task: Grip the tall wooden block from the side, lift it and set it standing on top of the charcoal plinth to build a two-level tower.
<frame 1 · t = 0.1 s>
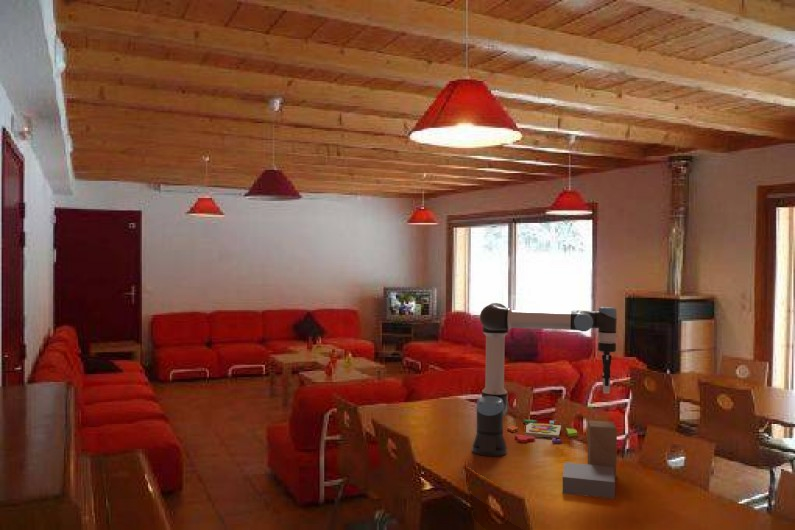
hand: (606, 390, 283), 28 cm above the table, tool pointing down, fingers open, 13 cm apart
wooden block: (601, 474, 255), on the table
pattern blocks set: (542, 434, 317), on the table
plinth: (588, 487, 240), on the table
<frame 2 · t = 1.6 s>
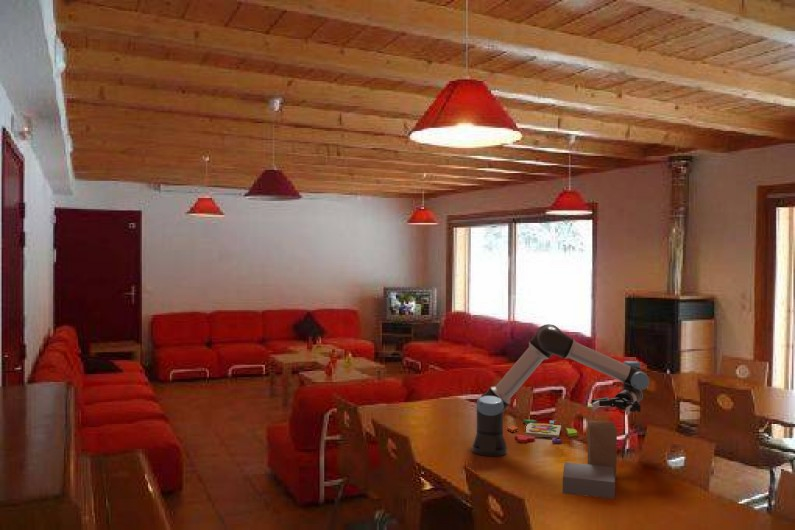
hand: (609, 409, 263), 24 cm above the table, tool horizontal, fingers open, 13 cm apart
nothing on the table moved.
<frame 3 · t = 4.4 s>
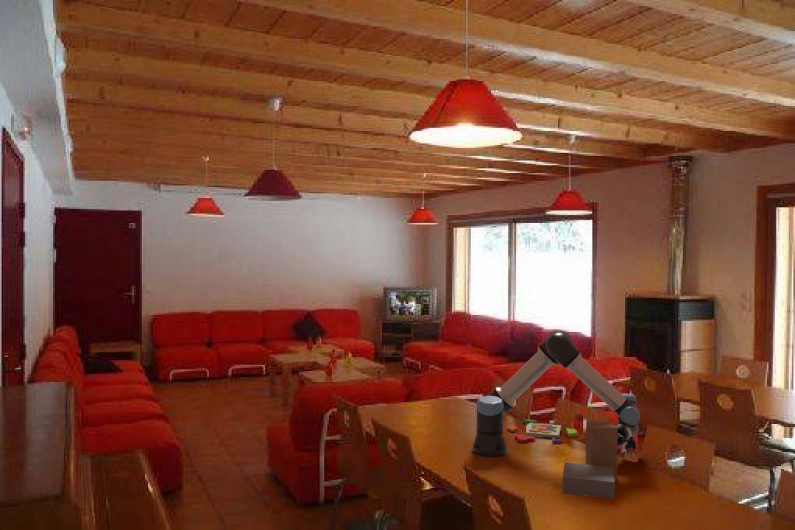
hand: (604, 446, 256), 11 cm above the table, tool horizontal, fingers open, 13 cm apart
wooden block: (601, 475, 255), on the table, touching gripper
everything else where it was.
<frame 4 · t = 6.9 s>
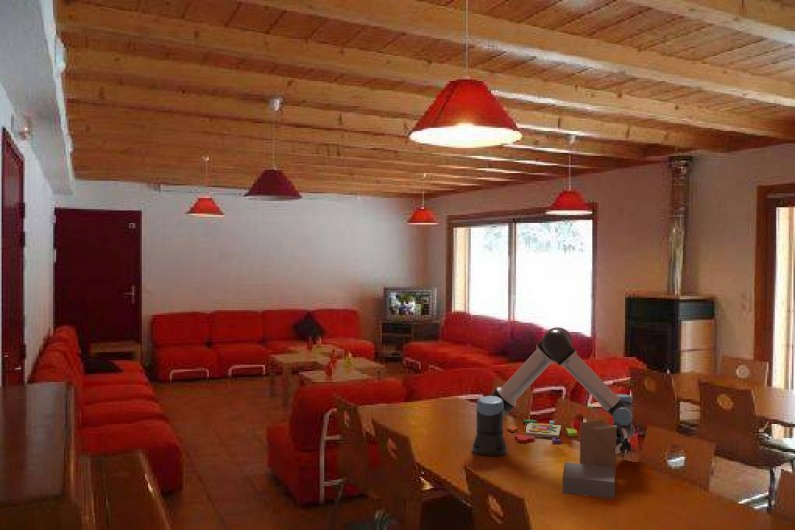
hand: (598, 447, 253), 11 cm above the table, tool horizontal, fingers closed on wooden block, 13 cm apart
wooden block: (597, 474, 254), on the table, touching gripper, plinth
everything else where it was.
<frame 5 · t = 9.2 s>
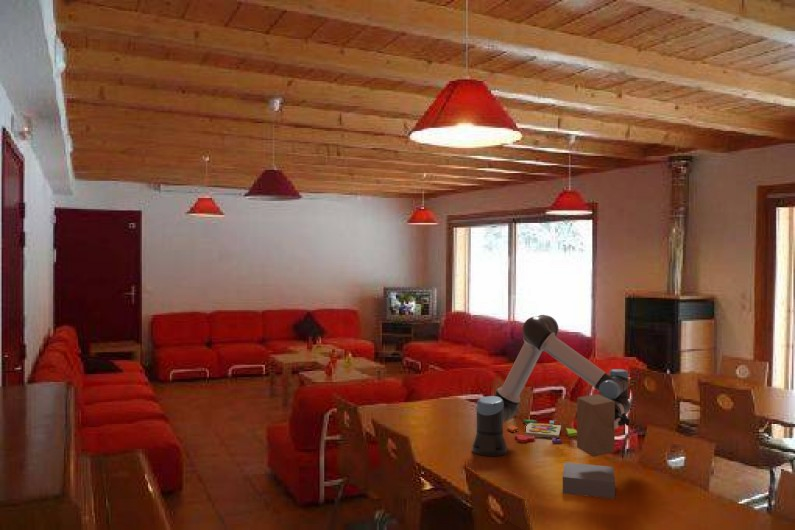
hand: (596, 422, 243), 24 cm above the table, tool horizontal, fingers closed on wooden block, 13 cm apart
wooden block: (595, 450, 244), point 13 cm above the table, touching gripper
everything else where it was.
when the fingers open (19 cm above the table, at t = 13.4 s): wooden block drops 2 cm, resting on plinth.
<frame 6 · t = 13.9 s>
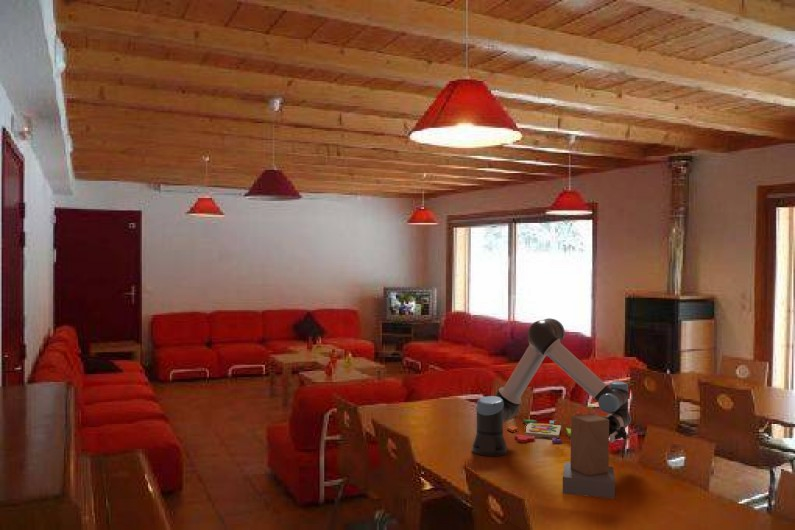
hand: (592, 435, 243), 19 cm above the table, tool horizontal, fingers open, 13 cm apart
wooden block: (589, 471, 241), point 6 cm above the table, touching plinth
everything else where it was.
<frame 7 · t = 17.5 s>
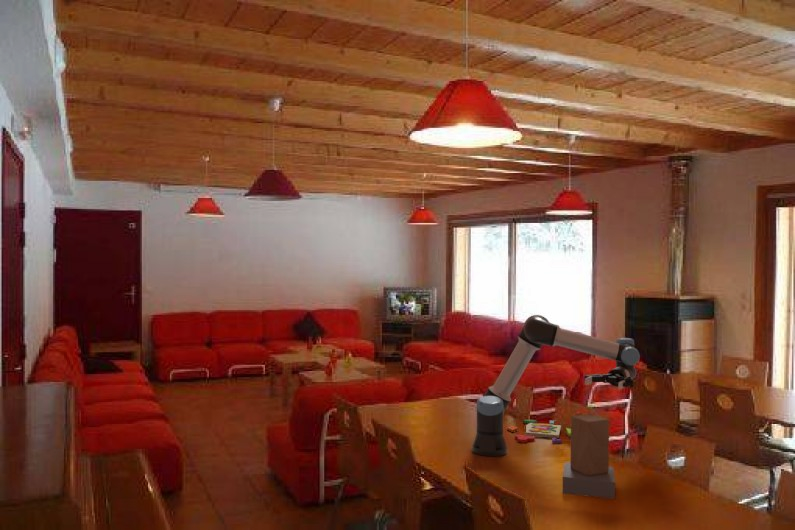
hand: (602, 383, 260), 35 cm above the table, tool horizontal, fingers open, 13 cm apart
nothing on the table moved.
at the end: wooden block inside the target area on the plinth (1.2 cm from its centre), point 5.8 cm above the plinth's base; wooden block tilted 0°; the gripper is holding nothing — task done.
